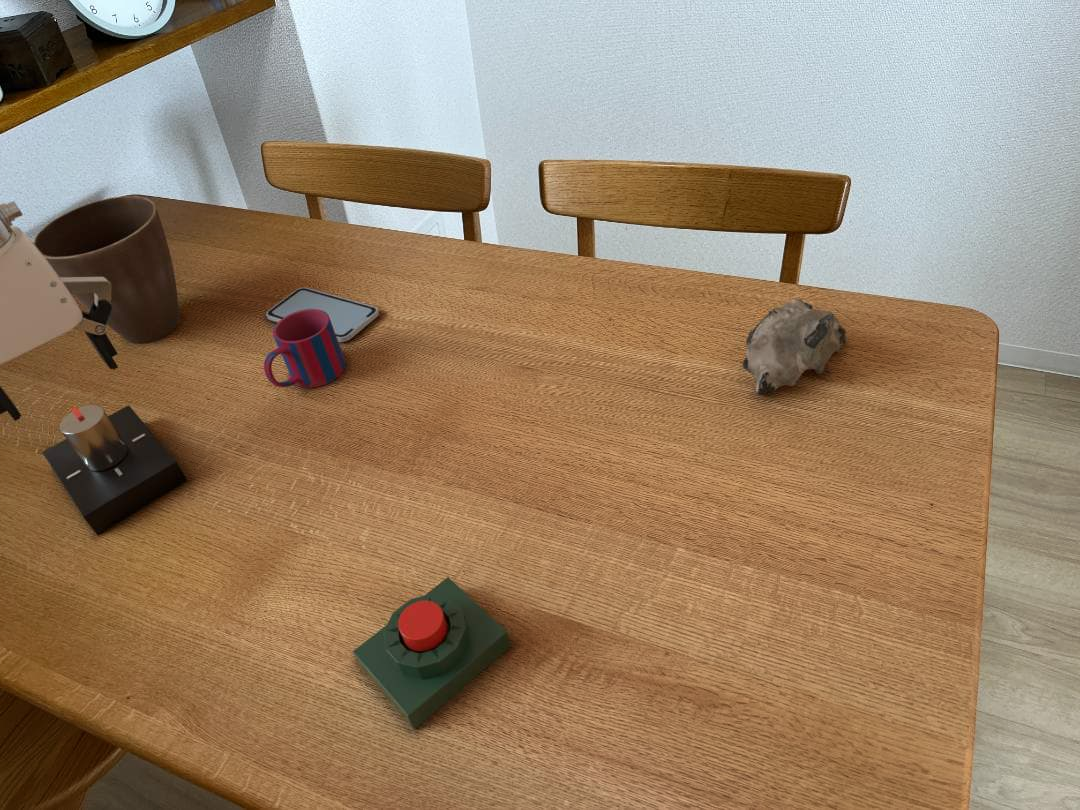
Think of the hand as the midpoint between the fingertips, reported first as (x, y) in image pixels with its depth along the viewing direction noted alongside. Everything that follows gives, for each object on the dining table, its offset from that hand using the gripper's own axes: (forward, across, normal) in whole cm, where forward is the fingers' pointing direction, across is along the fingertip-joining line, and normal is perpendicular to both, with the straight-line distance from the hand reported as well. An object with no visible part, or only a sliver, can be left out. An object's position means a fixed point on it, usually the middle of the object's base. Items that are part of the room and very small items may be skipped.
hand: (63, 387), depth 81 cm
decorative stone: (+13, -60, +45) cm, 76 cm away
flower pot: (+13, -14, -26) cm, 32 cm away
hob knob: (+10, 0, 0) cm, 10 cm away
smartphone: (+13, -31, -8) cm, 34 cm away
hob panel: (+13, 0, 0) cm, 13 cm away
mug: (+13, -23, +2) cm, 26 cm away
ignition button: (+9, -11, +44) cm, 46 cm away
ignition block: (+12, -11, +44) cm, 47 cm away
